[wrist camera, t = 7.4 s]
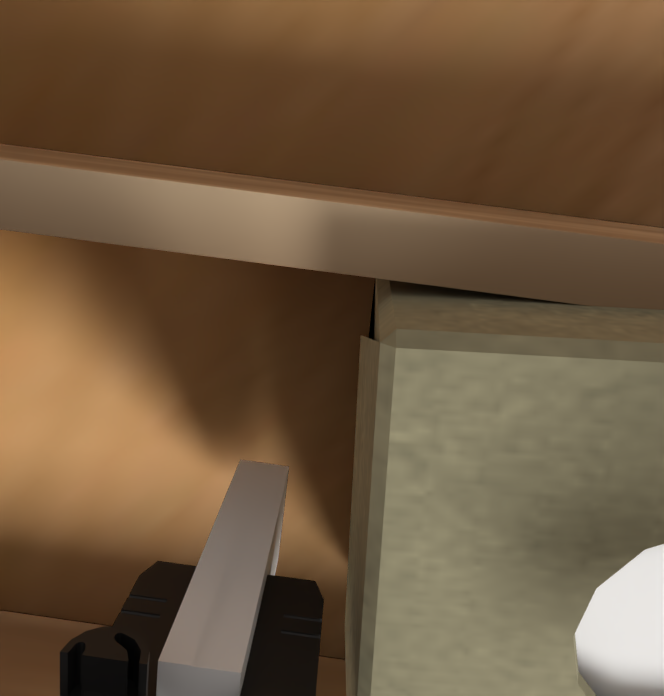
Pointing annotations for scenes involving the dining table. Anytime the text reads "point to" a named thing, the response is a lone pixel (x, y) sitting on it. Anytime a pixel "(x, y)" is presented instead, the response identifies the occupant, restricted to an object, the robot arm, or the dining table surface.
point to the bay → (306, 253)
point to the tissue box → (506, 498)
